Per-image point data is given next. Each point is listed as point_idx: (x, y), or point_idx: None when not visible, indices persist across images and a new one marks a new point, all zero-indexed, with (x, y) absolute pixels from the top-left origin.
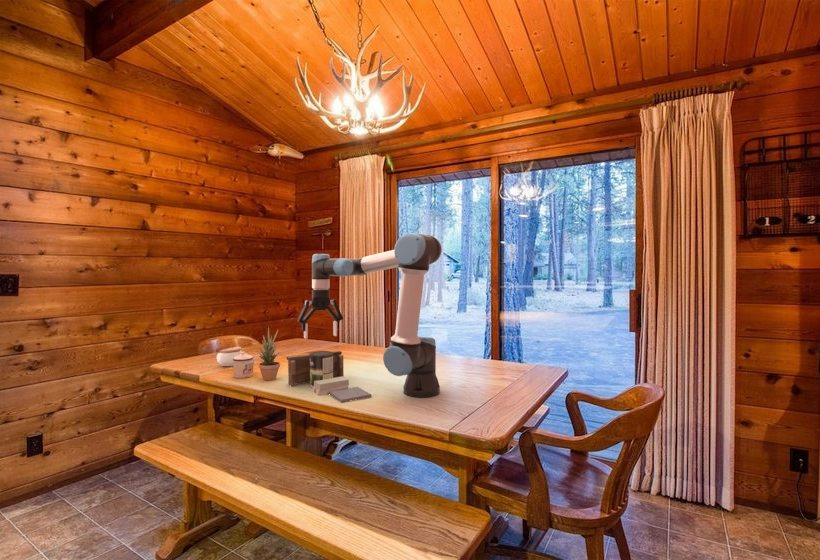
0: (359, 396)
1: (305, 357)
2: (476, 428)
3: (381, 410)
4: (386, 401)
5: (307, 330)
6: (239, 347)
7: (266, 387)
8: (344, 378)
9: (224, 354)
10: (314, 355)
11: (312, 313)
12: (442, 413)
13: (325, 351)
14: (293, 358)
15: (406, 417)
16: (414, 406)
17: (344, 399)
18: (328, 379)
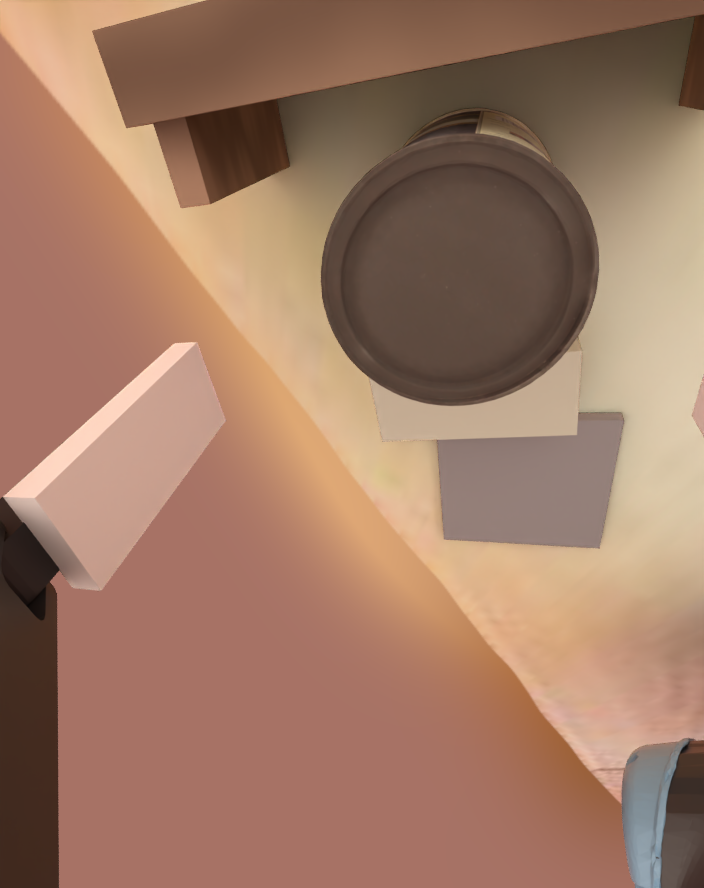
0: (534, 543)
1: (311, 91)
2: None
3: (534, 642)
4: (612, 601)
5: (167, 498)
6: None
7: (103, 92)
8: (564, 406)
9: None
10: (356, 361)
11: (39, 865)
12: (680, 731)
13: (541, 192)
14: (180, 117)
15: (563, 699)
16: (659, 671)
17: (459, 539)
18: None
